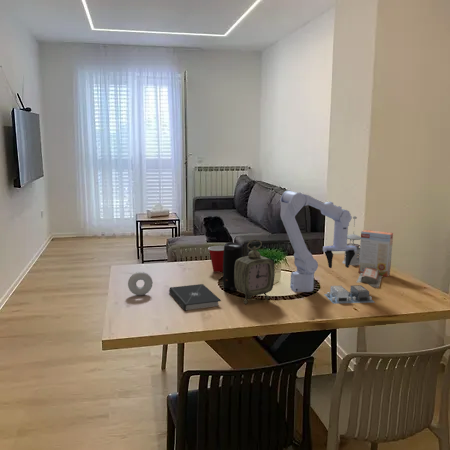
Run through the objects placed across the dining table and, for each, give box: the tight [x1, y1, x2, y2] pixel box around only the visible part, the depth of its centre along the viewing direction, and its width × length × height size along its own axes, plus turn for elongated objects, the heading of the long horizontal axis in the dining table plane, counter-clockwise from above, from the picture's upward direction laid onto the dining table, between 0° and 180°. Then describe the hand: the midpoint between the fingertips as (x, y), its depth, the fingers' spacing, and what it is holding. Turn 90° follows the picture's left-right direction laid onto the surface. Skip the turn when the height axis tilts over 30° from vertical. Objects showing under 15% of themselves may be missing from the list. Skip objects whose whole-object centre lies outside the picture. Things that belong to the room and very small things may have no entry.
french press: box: [341, 215, 361, 266], centre depth 249 cm, size 10×12×25 cm
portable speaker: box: [222, 242, 244, 292], centre depth 203 cm, size 9×9×20 cm
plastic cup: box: [207, 245, 225, 273], centre depth 230 cm, size 11×11×12 cm
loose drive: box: [349, 284, 370, 302], centre depth 192 cm, size 4×8×4 cm, turn 7°
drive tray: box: [323, 291, 375, 305], centre depth 192 cm, size 17×11×3 cm, turn 97°
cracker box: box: [358, 229, 394, 278], centre depth 229 cm, size 14×6×21 cm, turn 58°
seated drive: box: [330, 285, 350, 302], centre depth 191 cm, size 4×8×4 cm, turn 7°
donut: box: [127, 271, 153, 296], centre depth 194 cm, size 10×4×10 cm, turn 106°
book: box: [168, 283, 222, 312], centre depth 190 cm, size 22×15×3 cm
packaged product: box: [355, 268, 383, 289], centre depth 219 cm, size 18×5×10 cm
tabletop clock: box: [234, 238, 275, 305], centre depth 189 cm, size 14×9×25 cm, turn 122°
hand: (338, 267), depth 206 cm, fingers open, 7 cm apart
